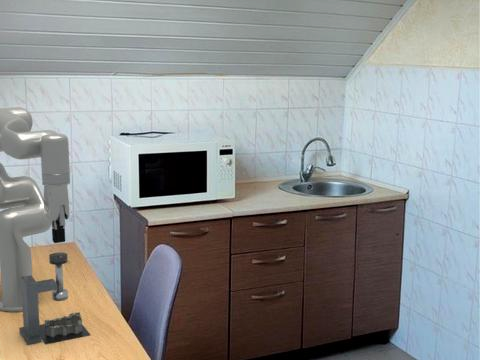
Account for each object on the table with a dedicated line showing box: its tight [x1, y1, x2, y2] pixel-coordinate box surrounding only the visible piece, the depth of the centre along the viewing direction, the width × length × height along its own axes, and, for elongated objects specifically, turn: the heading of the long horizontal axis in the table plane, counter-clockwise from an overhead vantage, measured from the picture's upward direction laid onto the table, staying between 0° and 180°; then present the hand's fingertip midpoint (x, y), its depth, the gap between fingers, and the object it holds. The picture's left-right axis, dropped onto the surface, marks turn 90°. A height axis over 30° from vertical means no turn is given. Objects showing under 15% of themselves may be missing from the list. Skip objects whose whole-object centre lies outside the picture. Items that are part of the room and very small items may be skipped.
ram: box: [48, 252, 69, 302], centre depth 194 cm, size 5×5×13 cm
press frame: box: [18, 274, 91, 346], centre depth 195 cm, size 14×18×17 cm
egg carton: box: [44, 311, 84, 337], centre depth 197 cm, size 11×8×4 cm
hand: (58, 241), depth 192 cm, fingers closed
